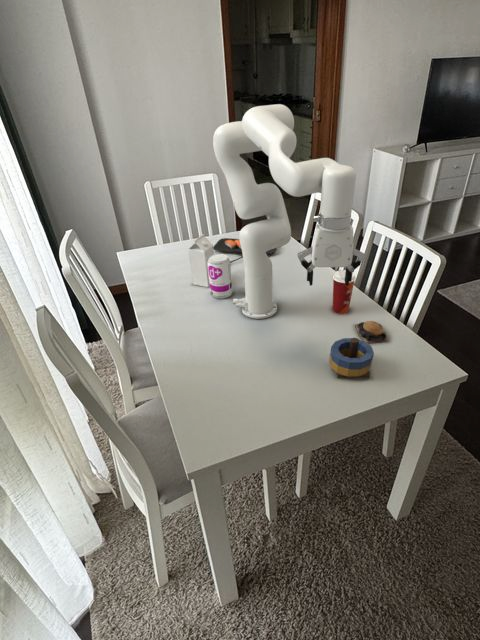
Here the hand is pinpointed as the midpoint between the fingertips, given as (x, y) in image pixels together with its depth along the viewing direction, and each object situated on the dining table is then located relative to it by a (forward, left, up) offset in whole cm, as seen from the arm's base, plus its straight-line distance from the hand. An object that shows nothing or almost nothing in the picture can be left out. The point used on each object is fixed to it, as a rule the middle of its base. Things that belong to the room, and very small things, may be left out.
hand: (328, 283), depth 110 cm
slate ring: (+7, -6, -20) cm, 22 cm away
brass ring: (+7, -6, -23) cm, 25 cm away
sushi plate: (-30, +75, -25) cm, 84 cm away
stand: (+8, -6, -24) cm, 26 cm away
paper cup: (+9, +27, -25) cm, 37 cm away
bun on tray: (+17, +12, -25) cm, 32 cm away
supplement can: (-35, +39, -25) cm, 58 cm away
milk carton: (-43, +49, -25) cm, 70 cm away
